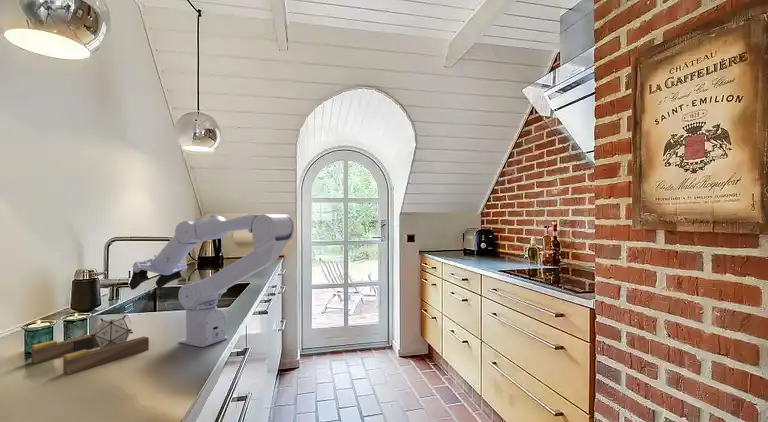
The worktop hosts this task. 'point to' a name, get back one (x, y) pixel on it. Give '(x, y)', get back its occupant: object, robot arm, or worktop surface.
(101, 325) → the game die
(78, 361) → the twin wooden rails
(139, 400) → the worktop surface
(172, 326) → the worktop surface
